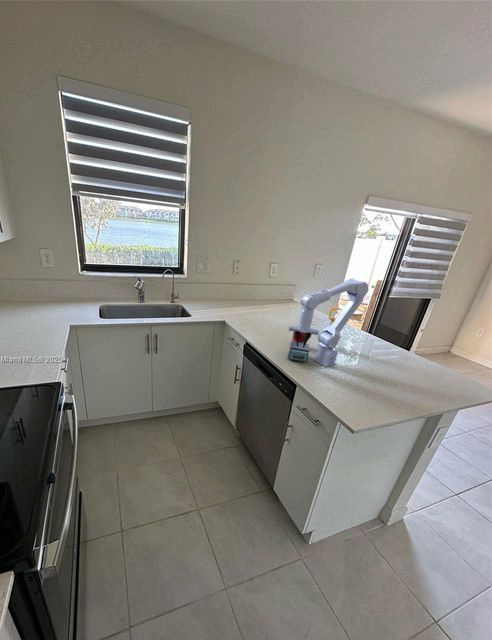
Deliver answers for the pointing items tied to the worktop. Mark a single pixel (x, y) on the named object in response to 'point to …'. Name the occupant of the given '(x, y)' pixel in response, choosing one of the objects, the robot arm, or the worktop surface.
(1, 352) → the worktop surface
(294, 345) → the dispenser
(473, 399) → the worktop surface
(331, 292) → the robot arm
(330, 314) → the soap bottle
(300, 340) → the canned food
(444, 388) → the worktop surface
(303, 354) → the detergent tray
